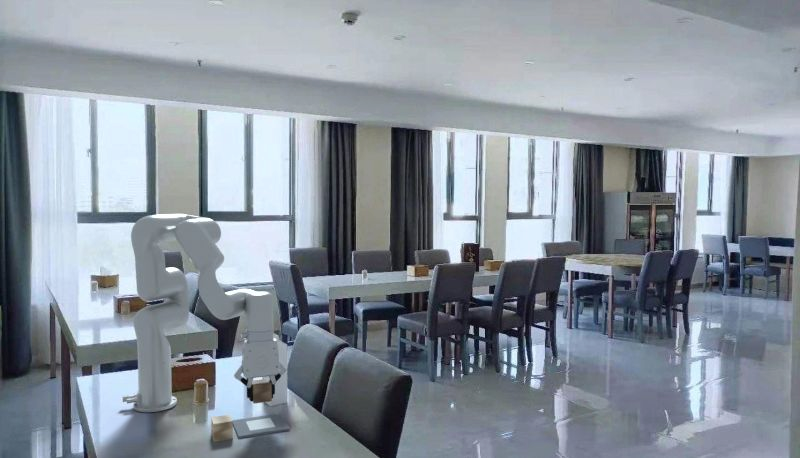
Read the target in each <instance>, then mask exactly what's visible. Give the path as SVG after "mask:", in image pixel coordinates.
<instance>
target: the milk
mask: <svg viewBox="0 0 800 458" xmlns="http://www.w3.org/2000/svg"><path fill="white" fill-rule="evenodd" d="M274 338H275V339H276V340H277V344H278V351H279V362H280V363H281V364H282V365H283V366H284V367H285V369H286V370H287V371H286V372H285V373H284V374H283V375H282V376H281V377H280V378H279V379H278V381H277V382H276V384H275V394H273V398H272V401H269V402H264V403H265V404H266V405H268V406H269V407H273V406H277V405H282V404H287V403H288V343H285V342H283V341H281V340H280V337H279V334H278V335H277V334H276V333H274ZM261 378H262V379H268V380H269V381H270V378H269V376H265V377H261Z"/></svg>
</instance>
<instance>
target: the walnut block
mask: <svg viewBox="0 0 800 458" xmlns="http://www.w3.org/2000/svg"><path fill="white" fill-rule="evenodd" d="M252 387H253V401H252V403H253V404H259V403H260V404H261V403H262V404H263V403H265V402H269V401H272V387H271V382H270V381H269V380H268V379H255V380H254V379H253V381H252Z"/></svg>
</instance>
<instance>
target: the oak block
mask: <svg viewBox="0 0 800 458" xmlns="http://www.w3.org/2000/svg"><path fill="white" fill-rule="evenodd" d="M210 419H211V421H210V426H211V432H210V433H211V434H210V435H211V439H212V440H213V442H219V441H220V442H221V441H228V440H233V439H234V438H233V437H234V435H233V434H234V426H233V421H232V420H233V419H232V416H231V415H230V414H224V415H219V416H211V418H210Z"/></svg>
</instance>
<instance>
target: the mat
mask: <svg viewBox="0 0 800 458" xmlns="http://www.w3.org/2000/svg"><path fill="white" fill-rule="evenodd" d="M232 421H233V429H234V431H235V433H236V436H237V438H238V439H244V438H249V437H256V436H261V435H262V436H263V435H267V434H269V435H270V434H274V433H281V432H282V433H283V432H287V431H290V427H289V425H288V423H287V422H286V421H285V419H284V417H283V416H282V414H281V413H280V412H279V413H274V414H273V413H272V414H268V415H267V414H266V415H259V416H252V417H246V418H238V419H232Z"/></svg>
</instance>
